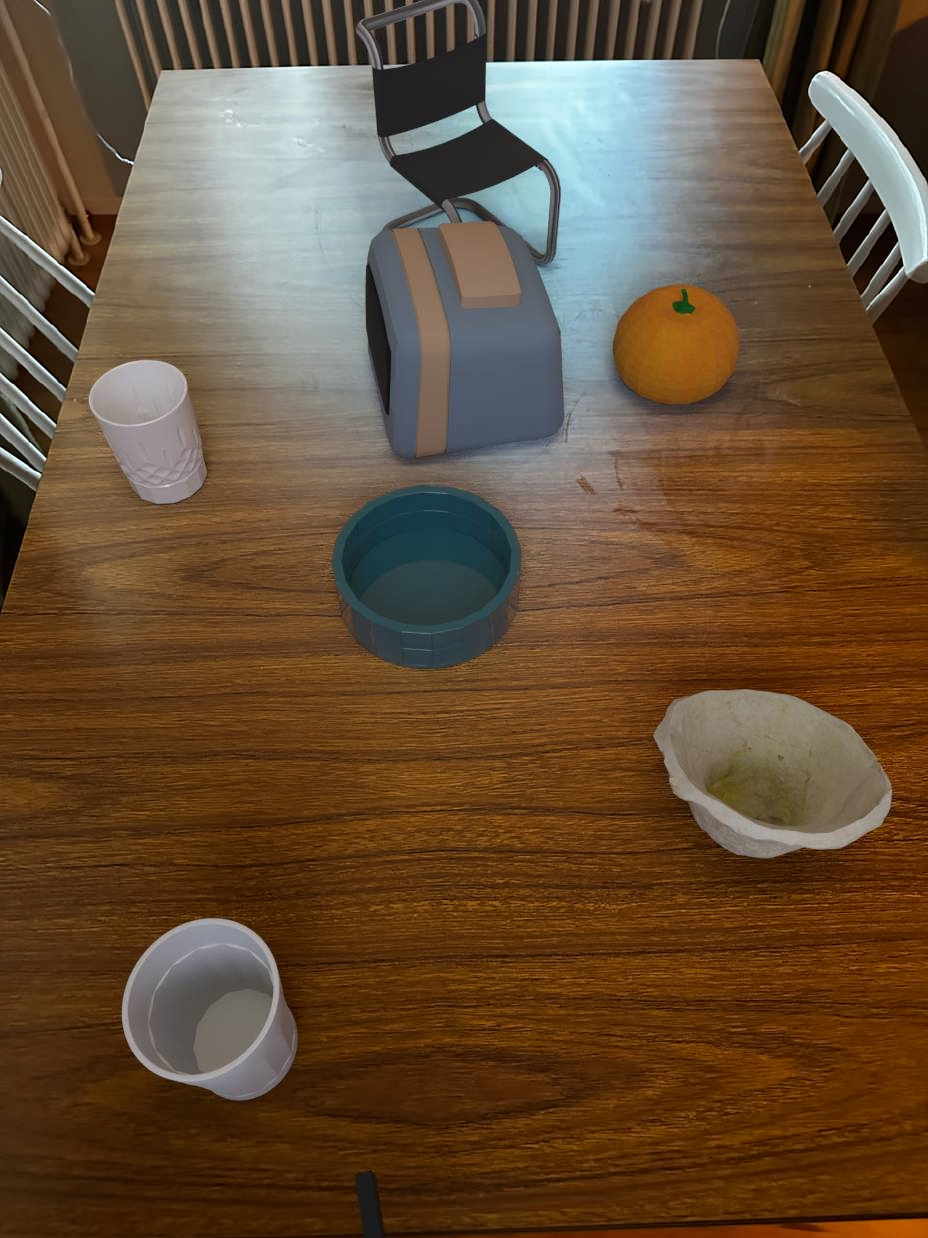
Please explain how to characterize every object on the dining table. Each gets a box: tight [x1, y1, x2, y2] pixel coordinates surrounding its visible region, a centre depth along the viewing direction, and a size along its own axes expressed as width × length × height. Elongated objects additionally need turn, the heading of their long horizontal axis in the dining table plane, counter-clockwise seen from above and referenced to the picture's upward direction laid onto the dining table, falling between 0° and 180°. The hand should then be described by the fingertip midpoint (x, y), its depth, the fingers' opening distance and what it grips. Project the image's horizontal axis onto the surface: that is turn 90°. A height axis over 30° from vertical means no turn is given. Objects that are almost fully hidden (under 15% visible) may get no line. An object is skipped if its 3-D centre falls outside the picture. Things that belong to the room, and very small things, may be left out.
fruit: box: [611, 283, 741, 406], centre depth 88 cm, size 12×12×10 cm
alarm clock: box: [364, 220, 565, 459], centre depth 85 cm, size 16×16×16 cm
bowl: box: [653, 688, 893, 859], centre depth 63 cm, size 15×14×10 cm
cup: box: [121, 917, 299, 1101], centre depth 54 cm, size 8×8×12 cm
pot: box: [331, 484, 522, 670], centre depth 76 cm, size 15×15×5 cm
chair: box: [355, 0, 562, 266], centre depth 95 cm, size 13×17×22 cm
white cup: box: [88, 359, 208, 505], centre depth 81 cm, size 8×8×10 cm
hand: (219, 1212), depth 44 cm, fingers open, 13 cm apart
